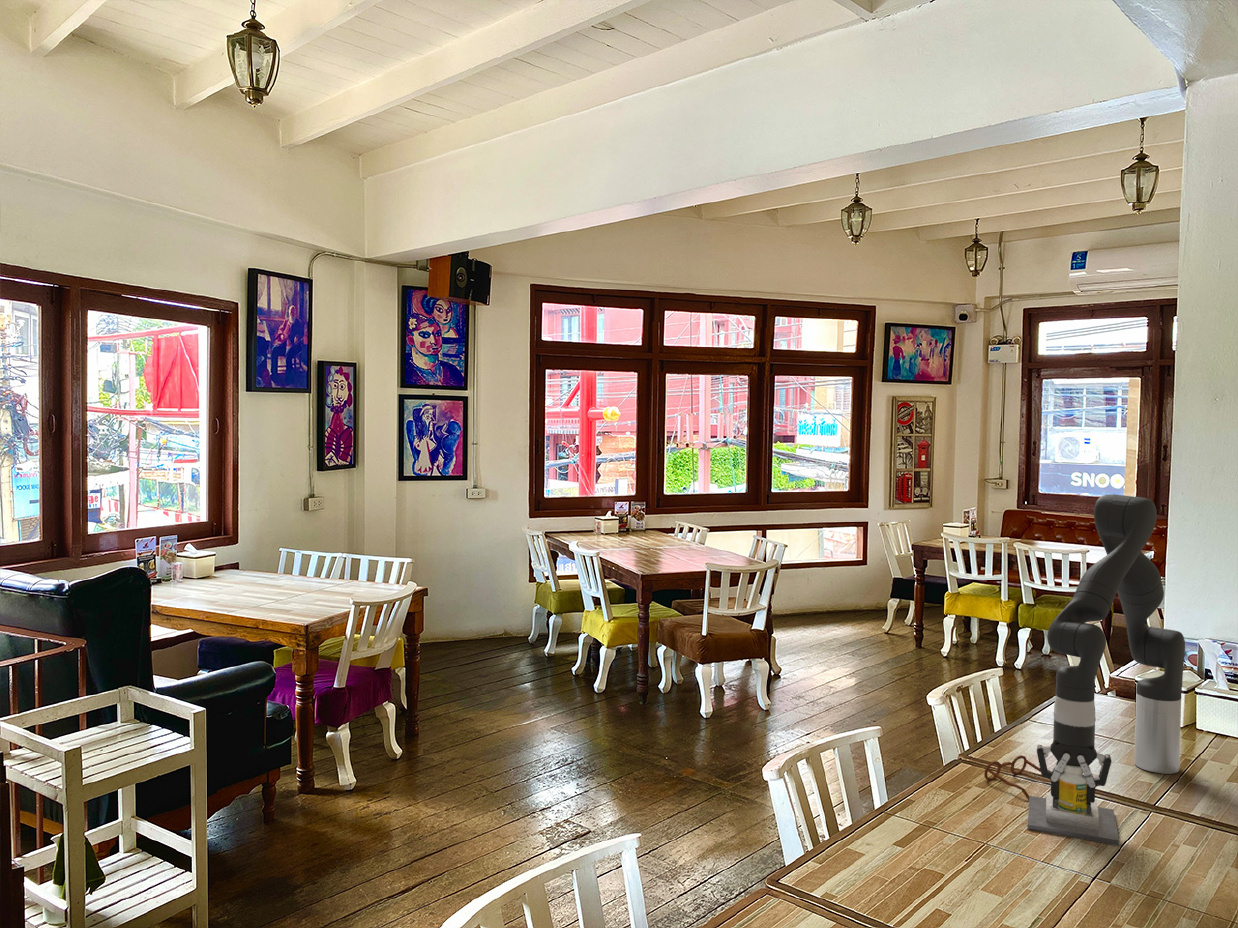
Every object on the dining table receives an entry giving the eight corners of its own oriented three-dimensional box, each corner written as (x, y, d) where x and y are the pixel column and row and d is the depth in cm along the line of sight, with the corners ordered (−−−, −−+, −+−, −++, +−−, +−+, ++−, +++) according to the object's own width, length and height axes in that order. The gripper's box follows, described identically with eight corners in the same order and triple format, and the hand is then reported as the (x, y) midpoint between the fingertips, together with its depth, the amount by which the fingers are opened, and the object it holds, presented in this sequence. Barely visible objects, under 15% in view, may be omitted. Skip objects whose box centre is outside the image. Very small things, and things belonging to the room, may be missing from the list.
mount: (1029, 799, 195) (1029, 783, 195) (1113, 813, 188) (1113, 797, 188) (1027, 829, 180) (1028, 811, 180) (1118, 845, 174) (1119, 827, 173)
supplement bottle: (1066, 802, 188) (1068, 757, 188) (1092, 811, 183) (1093, 765, 183) (1052, 808, 185) (1053, 762, 185) (1077, 818, 180) (1078, 770, 180)
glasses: (1023, 773, 211) (1023, 752, 211) (1072, 794, 199) (1073, 771, 199) (982, 782, 206) (983, 761, 205) (1031, 804, 194) (1031, 781, 194)
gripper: (1113, 718, 184) (1111, 800, 184) (1035, 708, 190) (1033, 788, 191) (1115, 729, 177) (1113, 814, 178) (1035, 719, 183) (1033, 801, 184)
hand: (1072, 800), depth 184 cm, fingers closed on supplement bottle, 5 cm apart
